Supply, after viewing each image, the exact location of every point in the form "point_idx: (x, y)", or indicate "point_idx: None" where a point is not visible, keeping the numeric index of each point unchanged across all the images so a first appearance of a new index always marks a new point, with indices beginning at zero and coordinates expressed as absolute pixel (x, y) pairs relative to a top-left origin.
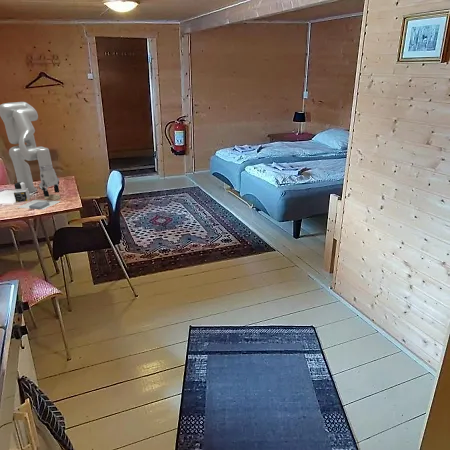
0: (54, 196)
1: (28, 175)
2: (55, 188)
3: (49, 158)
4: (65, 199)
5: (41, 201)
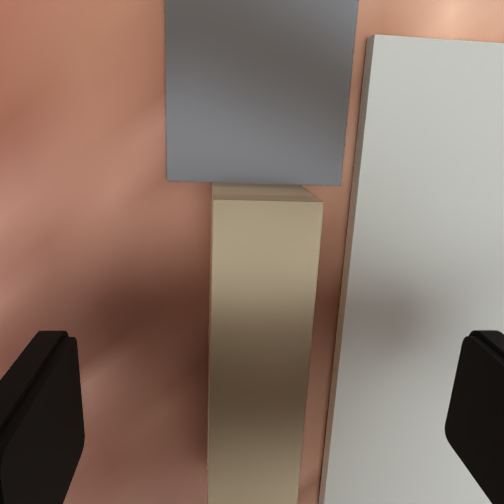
0: (312, 274)
1: None
2: (42, 491)
3: None
4: (160, 75)
5: (405, 438)
